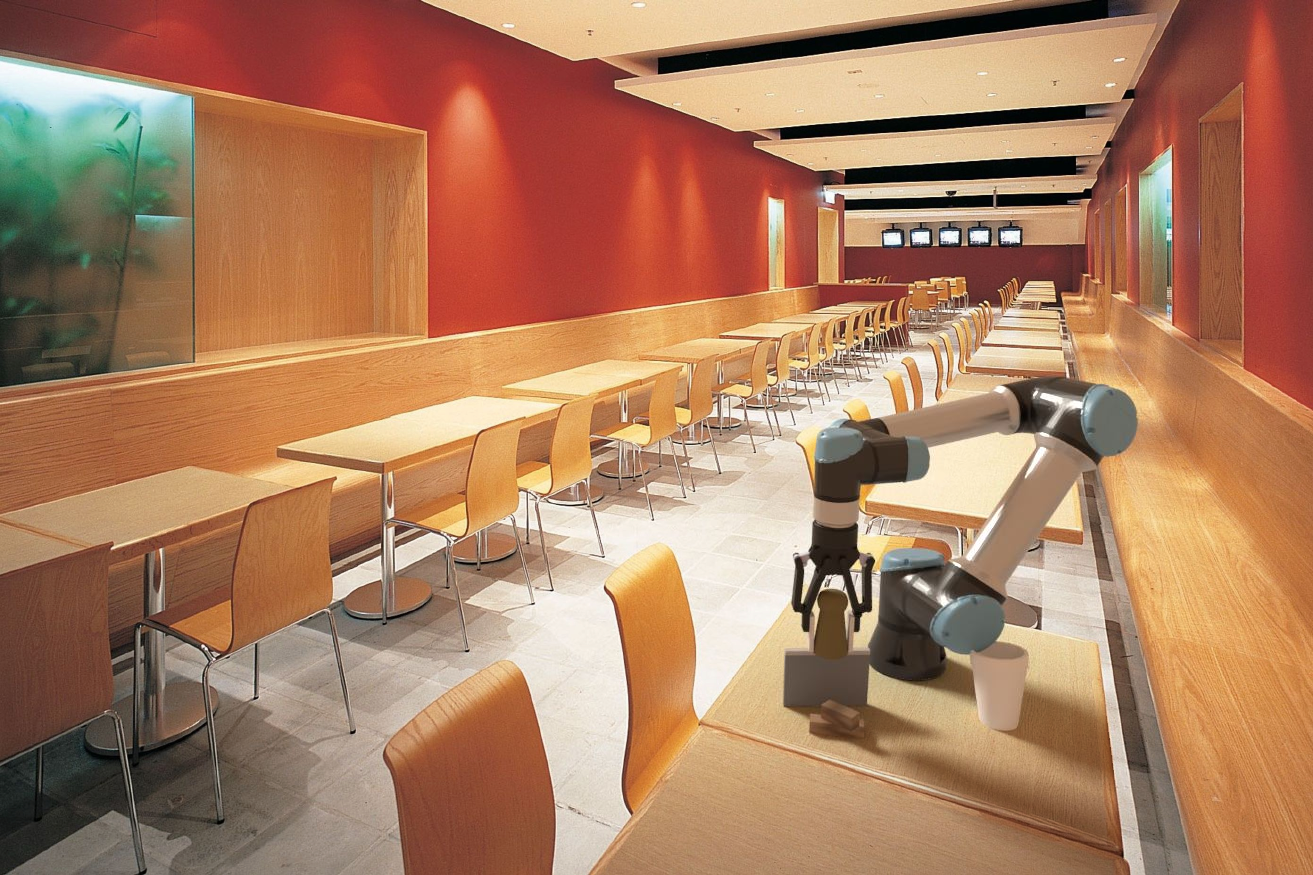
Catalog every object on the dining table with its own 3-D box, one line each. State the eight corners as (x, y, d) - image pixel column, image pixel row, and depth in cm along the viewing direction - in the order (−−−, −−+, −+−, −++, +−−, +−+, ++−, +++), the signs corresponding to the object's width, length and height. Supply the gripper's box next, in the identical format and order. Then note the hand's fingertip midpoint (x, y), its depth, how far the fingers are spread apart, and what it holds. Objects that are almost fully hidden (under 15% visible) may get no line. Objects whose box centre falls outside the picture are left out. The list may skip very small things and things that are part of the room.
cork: (805, 646, 150) (808, 587, 148) (834, 640, 152) (837, 582, 150) (824, 661, 145) (828, 600, 142) (854, 655, 147) (858, 595, 144)
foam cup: (1038, 731, 146) (1039, 657, 145) (987, 737, 145) (988, 662, 143) (1008, 708, 156) (1008, 639, 154) (960, 713, 154) (960, 643, 153)
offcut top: (859, 725, 145) (859, 712, 144) (851, 731, 143) (851, 717, 143) (828, 712, 149) (829, 699, 148) (820, 717, 147) (821, 704, 147)
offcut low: (862, 731, 147) (863, 718, 147) (863, 740, 145) (864, 727, 144) (809, 726, 149) (810, 713, 149) (809, 734, 147) (809, 721, 146)
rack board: (865, 702, 156) (868, 647, 154) (867, 705, 155) (870, 650, 153) (782, 702, 156) (784, 648, 154) (783, 706, 155) (785, 651, 152)
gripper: (887, 514, 147) (879, 638, 152) (775, 513, 148) (771, 638, 153) (898, 528, 140) (890, 658, 145) (781, 528, 140) (777, 658, 145)
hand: (829, 648), depth 149 cm, fingers closed on cork, 6 cm apart
